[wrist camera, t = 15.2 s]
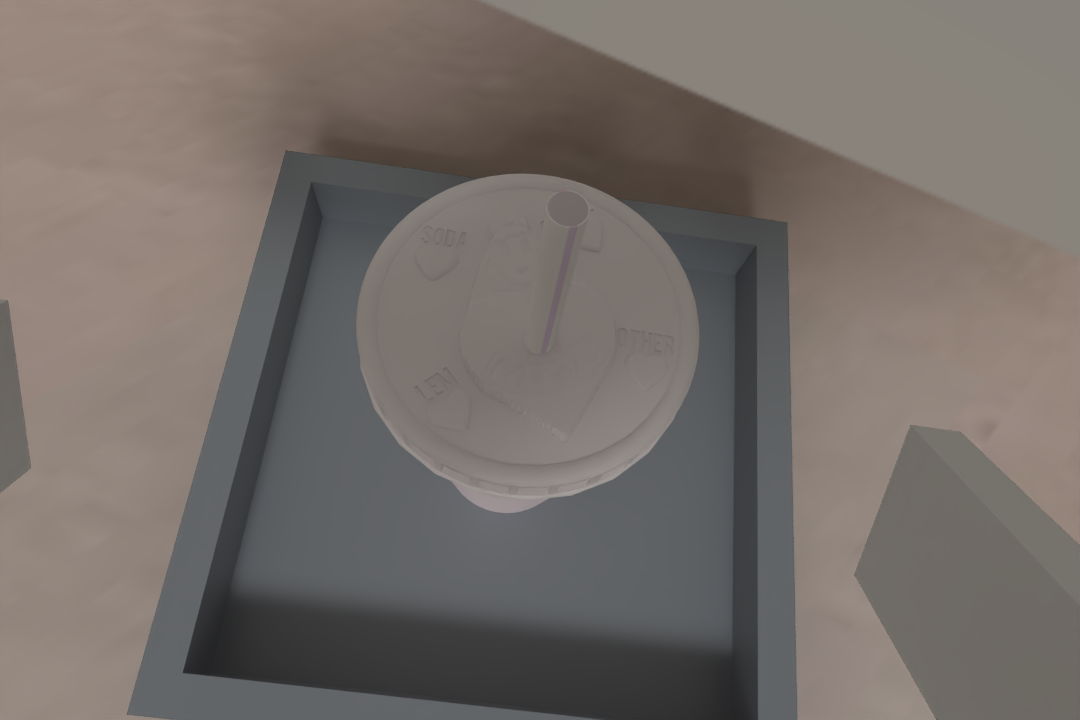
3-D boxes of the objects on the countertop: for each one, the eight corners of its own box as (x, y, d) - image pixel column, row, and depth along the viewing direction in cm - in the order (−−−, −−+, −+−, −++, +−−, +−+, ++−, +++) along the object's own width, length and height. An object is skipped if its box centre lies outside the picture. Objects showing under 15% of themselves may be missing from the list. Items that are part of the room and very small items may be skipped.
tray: (753, 267, 27) (787, 222, 24) (754, 769, 21) (798, 787, 18) (305, 204, 26) (286, 150, 23) (173, 706, 20) (126, 714, 17)
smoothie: (421, 585, 21) (345, 465, 8) (381, 375, 23) (268, 14, 10) (638, 530, 22) (878, 346, 9) (580, 334, 24) (707, -38, 11)
